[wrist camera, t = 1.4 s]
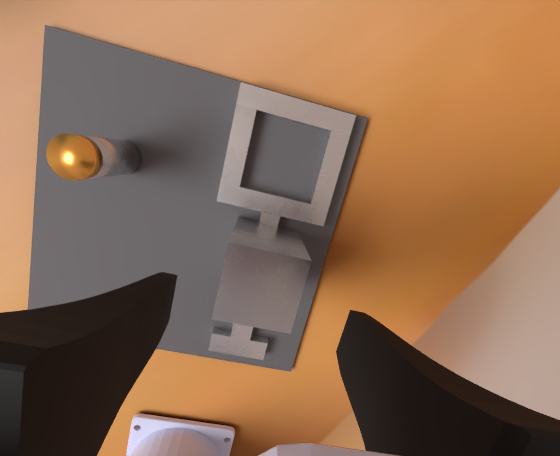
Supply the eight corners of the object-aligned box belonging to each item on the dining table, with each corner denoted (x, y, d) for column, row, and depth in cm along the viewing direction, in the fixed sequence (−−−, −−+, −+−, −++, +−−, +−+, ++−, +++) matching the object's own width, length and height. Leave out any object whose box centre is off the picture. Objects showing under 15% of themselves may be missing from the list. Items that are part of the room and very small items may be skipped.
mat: (290, 368, 22) (291, 371, 22) (30, 324, 20) (26, 326, 20) (366, 118, 18) (367, 118, 18) (48, 27, 16) (44, 24, 16)
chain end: (282, 356, 22) (290, 429, 16) (189, 339, 21) (161, 410, 15) (351, 117, 18) (395, 97, 12) (241, 85, 17) (231, 48, 11)
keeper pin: (139, 177, 18) (92, 185, 13) (106, 169, 18) (44, 174, 13) (144, 145, 17) (96, 140, 12) (110, 136, 17) (47, 127, 12)
